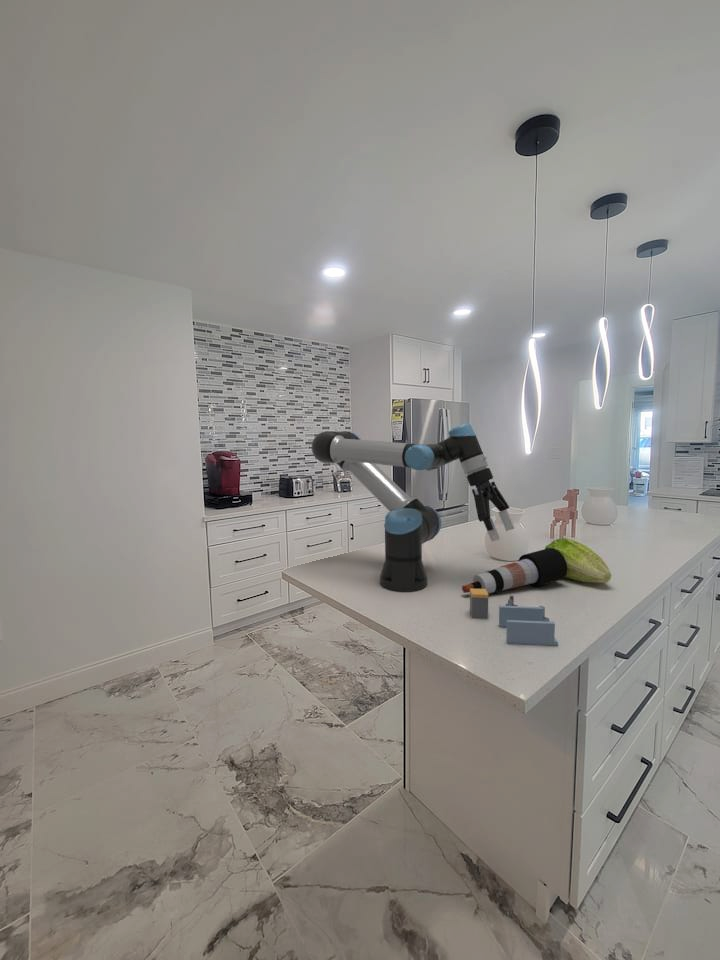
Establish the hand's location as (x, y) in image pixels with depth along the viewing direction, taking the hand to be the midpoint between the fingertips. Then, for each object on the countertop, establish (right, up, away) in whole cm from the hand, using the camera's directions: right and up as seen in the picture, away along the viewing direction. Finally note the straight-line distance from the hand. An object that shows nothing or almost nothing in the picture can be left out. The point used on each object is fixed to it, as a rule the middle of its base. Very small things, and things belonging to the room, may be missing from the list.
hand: (503, 534), depth 125 cm
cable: (+2, -17, -1) cm, 17 cm away
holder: (-6, -19, -30) cm, 36 cm away
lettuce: (+26, -16, +7) cm, 31 cm away
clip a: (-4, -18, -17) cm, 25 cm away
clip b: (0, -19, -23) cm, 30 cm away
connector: (-13, -18, -19) cm, 30 cm away
